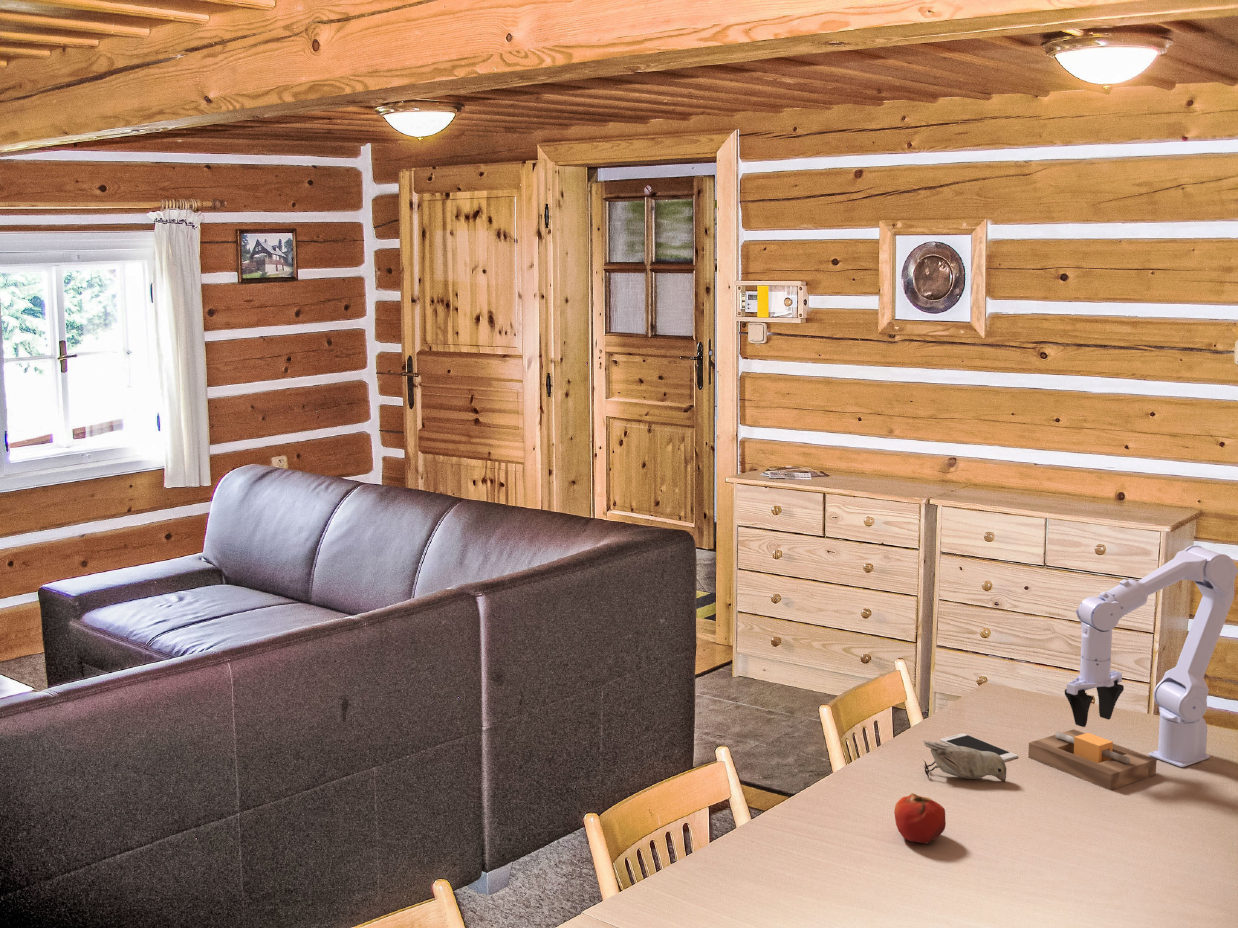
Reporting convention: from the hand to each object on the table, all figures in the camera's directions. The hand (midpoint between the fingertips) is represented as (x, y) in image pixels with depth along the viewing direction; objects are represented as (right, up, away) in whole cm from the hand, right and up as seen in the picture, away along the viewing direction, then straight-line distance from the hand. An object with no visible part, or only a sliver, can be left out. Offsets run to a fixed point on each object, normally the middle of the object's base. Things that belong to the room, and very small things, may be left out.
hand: (1092, 721), depth 255 cm
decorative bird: (-27, -11, -4) cm, 30 cm away
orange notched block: (0, -8, +1) cm, 8 cm away
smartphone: (-20, -9, +11) cm, 25 cm away
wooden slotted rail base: (0, -9, +1) cm, 9 cm away
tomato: (-42, -15, -30) cm, 54 cm away
